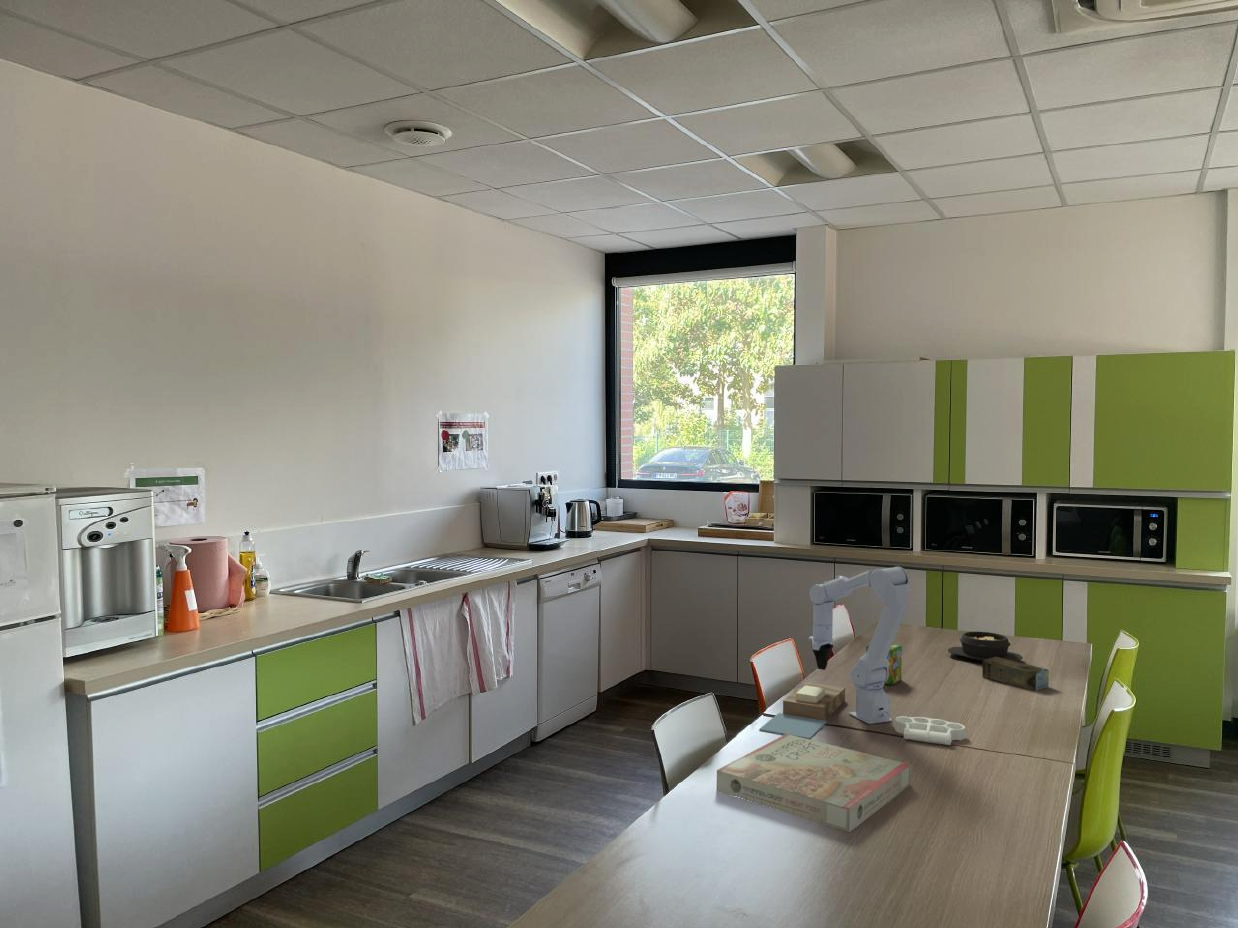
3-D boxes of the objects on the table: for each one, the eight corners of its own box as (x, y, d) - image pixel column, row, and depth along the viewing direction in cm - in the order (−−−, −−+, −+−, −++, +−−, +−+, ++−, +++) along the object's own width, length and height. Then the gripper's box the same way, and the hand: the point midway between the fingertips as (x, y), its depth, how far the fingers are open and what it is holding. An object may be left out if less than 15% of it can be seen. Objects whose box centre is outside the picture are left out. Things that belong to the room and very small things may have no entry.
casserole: (943, 660, 321) (944, 637, 321) (951, 649, 338) (951, 627, 337) (1020, 669, 310) (1021, 645, 309) (1024, 657, 326) (1024, 634, 326)
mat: (778, 714, 259) (778, 712, 259) (826, 722, 252) (826, 720, 252) (759, 730, 245) (759, 728, 245) (809, 739, 238) (809, 737, 238)
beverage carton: (1035, 691, 284) (1036, 671, 284) (980, 677, 300) (980, 658, 299) (1049, 687, 289) (1049, 667, 288) (994, 674, 304) (994, 654, 304)
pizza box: (849, 808, 183) (716, 769, 203) (849, 834, 183) (716, 793, 204) (910, 764, 208) (786, 733, 228) (909, 787, 208) (786, 754, 228)
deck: (806, 694, 278) (806, 681, 278) (845, 700, 272) (845, 687, 272) (782, 714, 259) (783, 700, 258) (824, 721, 253) (824, 707, 253)
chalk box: (892, 686, 288) (893, 640, 288) (864, 681, 294) (865, 635, 293) (902, 679, 296) (903, 635, 295) (875, 675, 301) (876, 631, 301)
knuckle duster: (891, 740, 239) (896, 723, 252) (963, 750, 232) (965, 732, 245) (891, 727, 239) (897, 712, 252) (964, 737, 232) (966, 720, 245)
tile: (805, 691, 267) (805, 685, 267) (825, 694, 264) (825, 688, 264) (795, 699, 259) (795, 692, 259) (816, 703, 256) (816, 696, 256)
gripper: (816, 618, 279) (815, 661, 279) (802, 626, 266) (801, 672, 267) (839, 620, 275) (838, 664, 276) (825, 629, 263) (825, 675, 263)
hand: (821, 668), depth 271 cm, fingers closed
